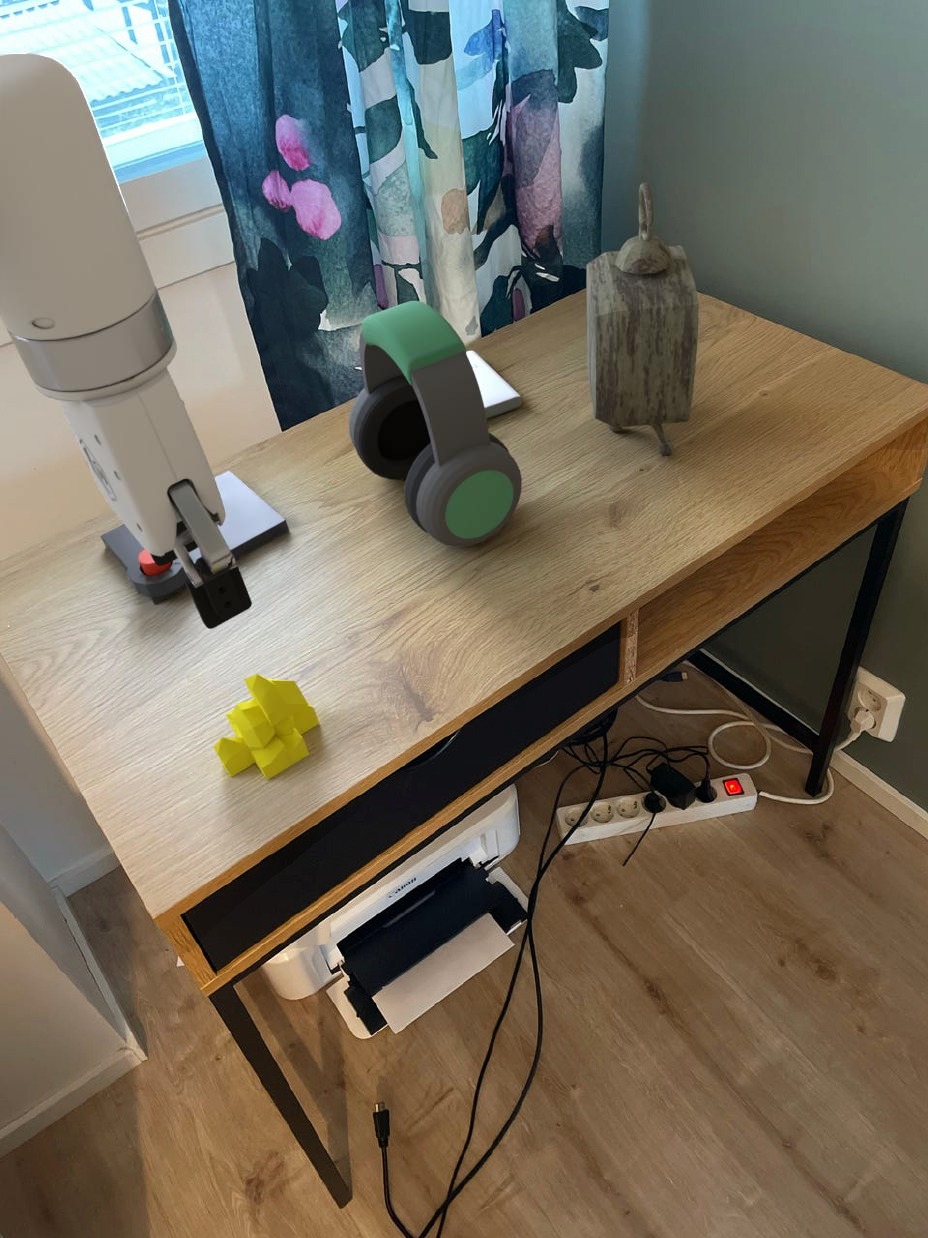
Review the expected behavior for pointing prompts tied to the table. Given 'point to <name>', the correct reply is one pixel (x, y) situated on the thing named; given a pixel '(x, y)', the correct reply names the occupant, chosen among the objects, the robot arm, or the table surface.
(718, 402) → the table surface
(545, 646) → the table surface
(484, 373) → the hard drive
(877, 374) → the table surface
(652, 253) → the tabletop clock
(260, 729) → the yellow crystal cluster
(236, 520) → the scale
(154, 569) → the tare button
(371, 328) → the headphones
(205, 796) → the table surface
